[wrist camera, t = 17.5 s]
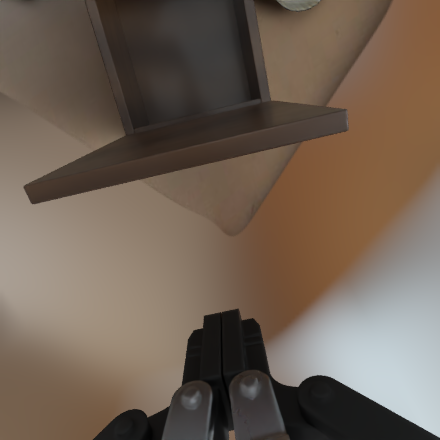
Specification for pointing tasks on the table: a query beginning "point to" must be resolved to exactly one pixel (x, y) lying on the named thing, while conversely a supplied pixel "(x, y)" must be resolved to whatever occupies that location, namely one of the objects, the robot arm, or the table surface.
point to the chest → (179, 58)
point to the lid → (190, 146)
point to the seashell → (298, 4)
